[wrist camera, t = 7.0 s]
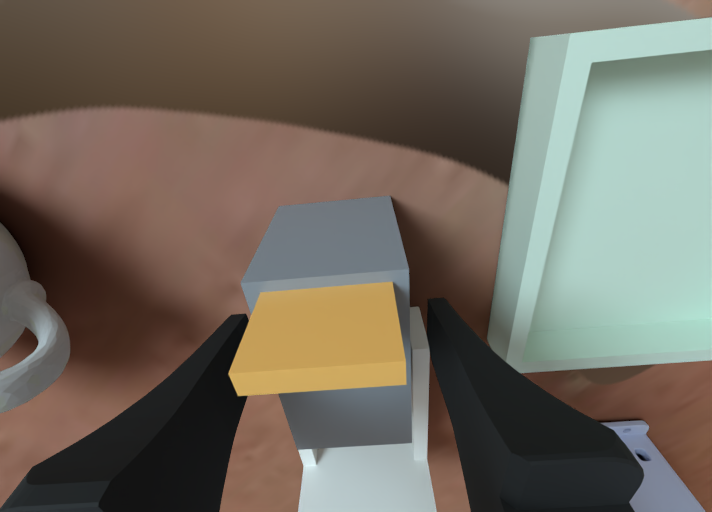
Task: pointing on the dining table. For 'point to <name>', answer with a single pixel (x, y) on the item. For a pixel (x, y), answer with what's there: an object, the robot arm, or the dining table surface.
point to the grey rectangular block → (331, 324)
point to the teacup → (28, 309)
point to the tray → (609, 203)
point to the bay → (377, 458)
